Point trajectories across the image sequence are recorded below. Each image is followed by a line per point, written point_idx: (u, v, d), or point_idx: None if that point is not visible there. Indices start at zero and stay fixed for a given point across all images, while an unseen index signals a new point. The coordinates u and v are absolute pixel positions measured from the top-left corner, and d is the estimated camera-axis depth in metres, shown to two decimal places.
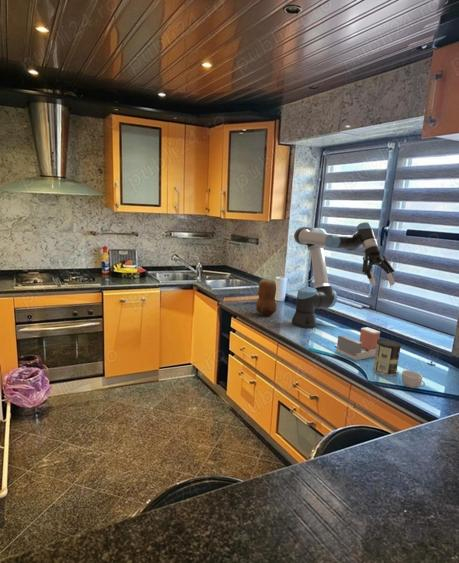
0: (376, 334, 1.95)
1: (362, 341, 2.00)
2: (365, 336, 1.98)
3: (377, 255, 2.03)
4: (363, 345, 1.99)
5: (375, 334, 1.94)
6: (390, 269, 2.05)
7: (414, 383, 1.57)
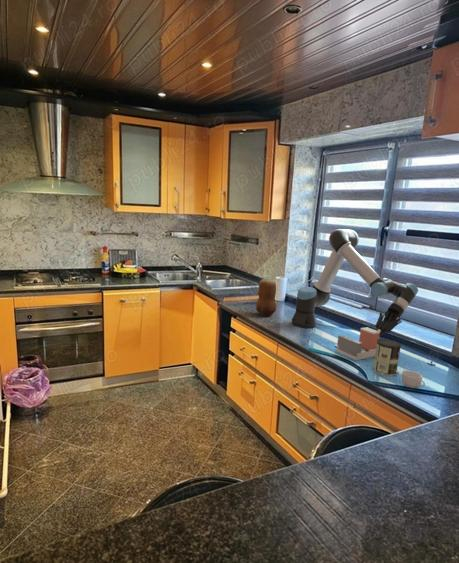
0: (376, 334, 1.95)
1: (362, 341, 2.00)
2: (365, 336, 1.98)
3: None
4: (363, 345, 1.99)
5: (375, 334, 1.94)
6: None
7: (414, 383, 1.57)
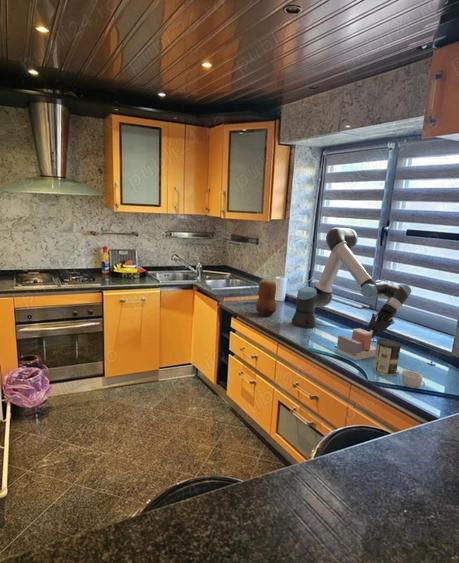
0: (368, 335, 1.92)
1: None
2: (357, 337, 1.95)
3: None
4: None
5: (367, 335, 1.91)
6: None
7: (414, 383, 1.57)
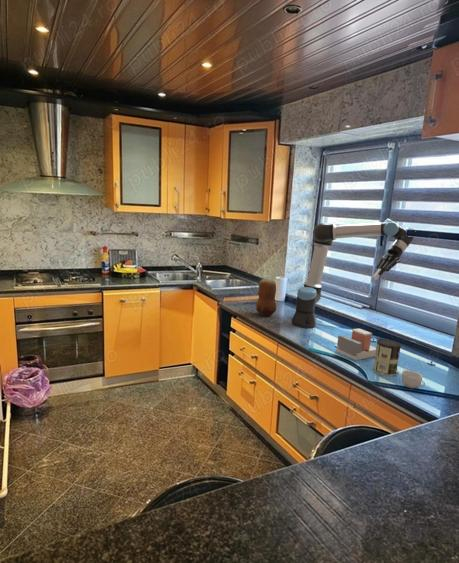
0: (367, 335, 1.91)
1: None
2: (357, 337, 1.94)
3: None
4: None
5: (366, 335, 1.91)
6: None
7: (414, 383, 1.57)
